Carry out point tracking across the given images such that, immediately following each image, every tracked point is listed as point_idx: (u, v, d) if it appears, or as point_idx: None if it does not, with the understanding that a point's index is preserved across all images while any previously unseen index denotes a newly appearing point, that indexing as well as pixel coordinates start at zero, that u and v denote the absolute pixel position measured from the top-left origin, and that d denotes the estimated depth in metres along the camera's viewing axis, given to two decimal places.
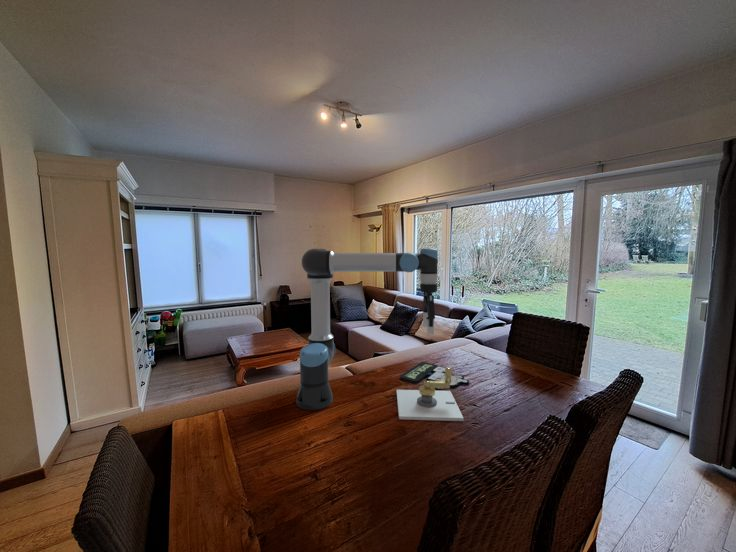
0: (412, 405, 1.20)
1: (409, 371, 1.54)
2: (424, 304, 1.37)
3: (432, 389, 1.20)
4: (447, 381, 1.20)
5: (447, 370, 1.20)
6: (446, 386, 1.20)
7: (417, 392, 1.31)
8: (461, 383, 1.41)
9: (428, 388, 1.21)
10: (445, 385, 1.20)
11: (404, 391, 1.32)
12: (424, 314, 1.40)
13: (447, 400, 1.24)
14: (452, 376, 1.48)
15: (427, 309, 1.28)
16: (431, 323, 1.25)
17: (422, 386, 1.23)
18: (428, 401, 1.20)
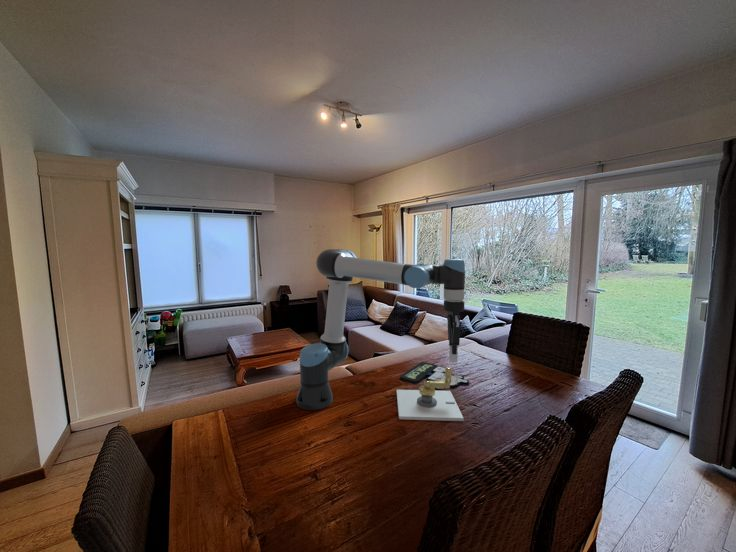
0: (412, 405, 1.20)
1: (409, 371, 1.54)
2: (450, 328, 1.13)
3: (432, 389, 1.20)
4: (447, 381, 1.20)
5: (447, 370, 1.20)
6: (446, 386, 1.20)
7: (417, 392, 1.31)
8: (461, 383, 1.41)
9: (428, 388, 1.21)
10: (445, 385, 1.20)
11: (404, 391, 1.32)
12: None
13: (447, 400, 1.24)
14: (452, 376, 1.48)
15: (451, 334, 1.11)
16: (455, 350, 1.11)
17: (422, 386, 1.23)
18: (428, 401, 1.20)
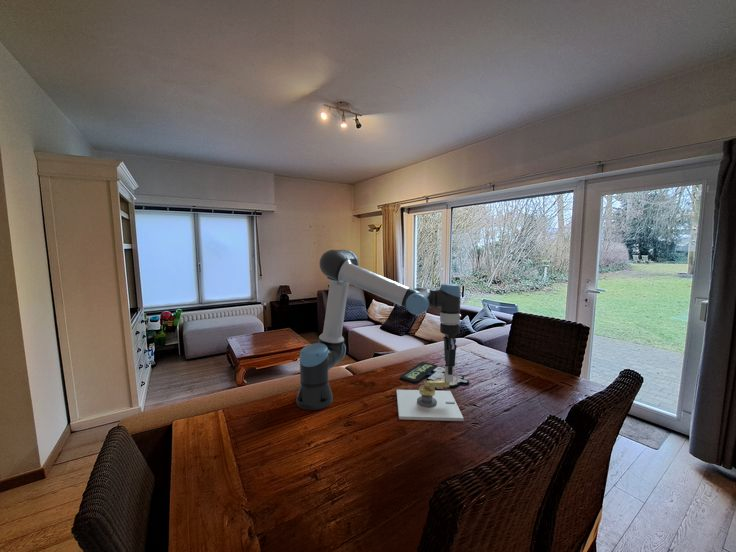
0: (412, 405, 1.20)
1: (410, 371, 1.54)
2: (446, 350, 1.18)
3: (432, 389, 1.21)
4: None
5: None
6: (446, 385, 1.21)
7: (417, 392, 1.31)
8: (461, 383, 1.41)
9: (428, 388, 1.21)
10: (445, 384, 1.21)
11: (404, 391, 1.32)
12: None
13: (447, 400, 1.24)
14: None
15: (447, 355, 1.16)
16: (450, 371, 1.16)
17: (422, 386, 1.23)
18: (428, 401, 1.20)
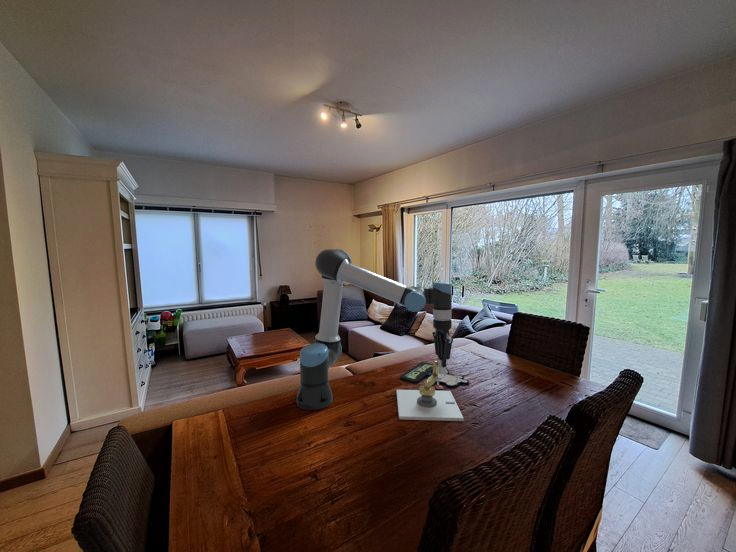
0: (412, 405, 1.20)
1: (410, 371, 1.54)
2: (438, 344, 1.25)
3: (431, 387, 1.23)
4: (437, 374, 1.27)
5: (437, 363, 1.27)
6: (436, 379, 1.27)
7: (417, 392, 1.31)
8: (461, 383, 1.41)
9: (430, 387, 1.21)
10: (436, 378, 1.27)
11: (404, 391, 1.32)
12: None
13: (447, 400, 1.24)
14: (452, 376, 1.48)
15: (441, 349, 1.23)
16: (445, 363, 1.24)
17: (422, 388, 1.21)
18: (428, 401, 1.20)
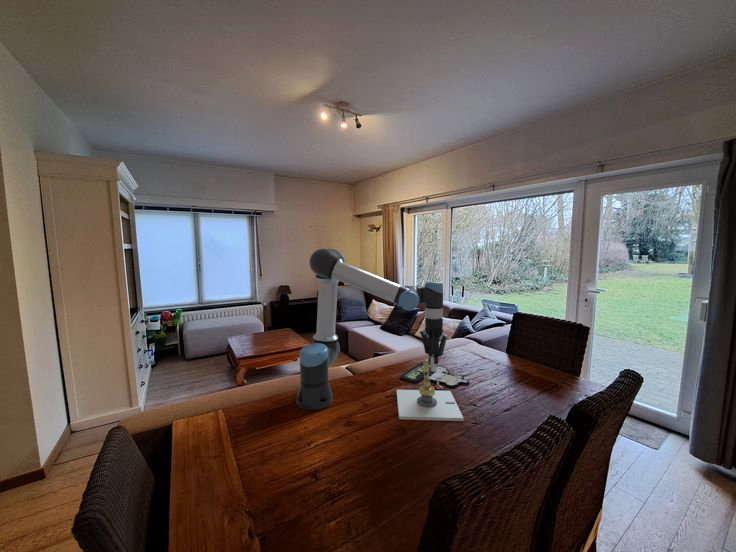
0: (412, 405, 1.20)
1: (410, 371, 1.54)
2: (430, 342, 1.28)
3: (429, 386, 1.23)
4: (428, 372, 1.29)
5: (428, 362, 1.29)
6: None
7: (417, 392, 1.31)
8: (461, 383, 1.41)
9: None
10: (428, 376, 1.29)
11: (404, 391, 1.32)
12: None
13: (447, 400, 1.24)
14: (452, 376, 1.48)
15: (435, 347, 1.26)
16: (437, 360, 1.28)
17: (423, 389, 1.20)
18: (428, 401, 1.20)
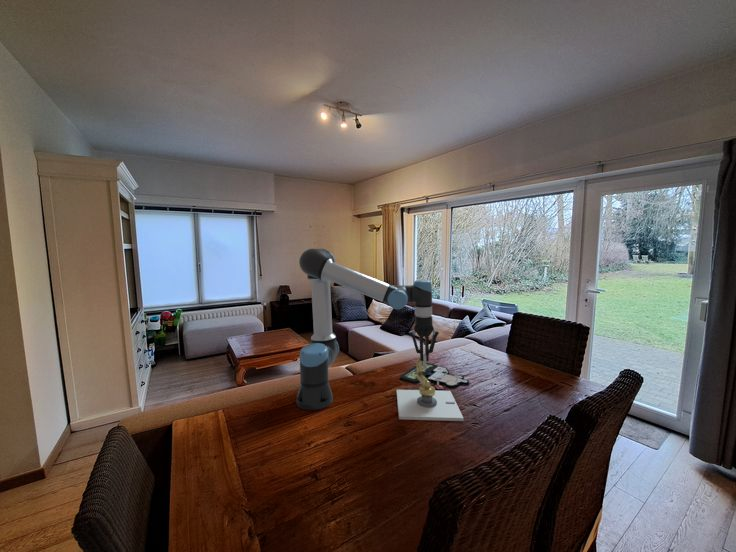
0: (412, 405, 1.20)
1: (410, 371, 1.54)
2: (422, 341, 1.29)
3: None
4: (421, 372, 1.29)
5: None
6: None
7: (417, 392, 1.31)
8: (461, 383, 1.41)
9: None
10: None
11: (404, 391, 1.32)
12: None
13: (447, 400, 1.24)
14: (452, 376, 1.48)
15: (428, 344, 1.29)
16: None
17: (425, 390, 1.20)
18: (428, 401, 1.20)
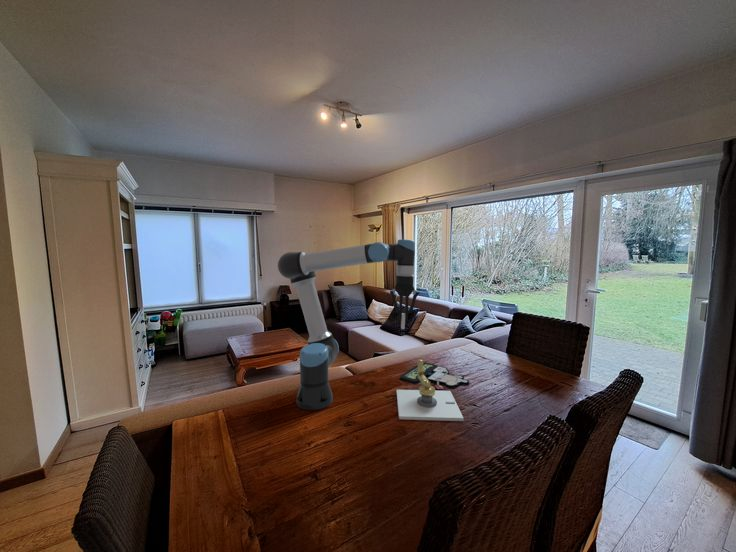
0: (412, 405, 1.20)
1: (410, 371, 1.54)
2: (402, 300, 1.29)
3: None
4: None
5: None
6: None
7: (417, 392, 1.31)
8: (461, 383, 1.41)
9: None
10: None
11: (404, 391, 1.32)
12: None
13: (447, 400, 1.24)
14: (452, 376, 1.48)
15: (407, 304, 1.29)
16: (407, 317, 1.31)
17: (425, 390, 1.20)
18: (428, 401, 1.20)
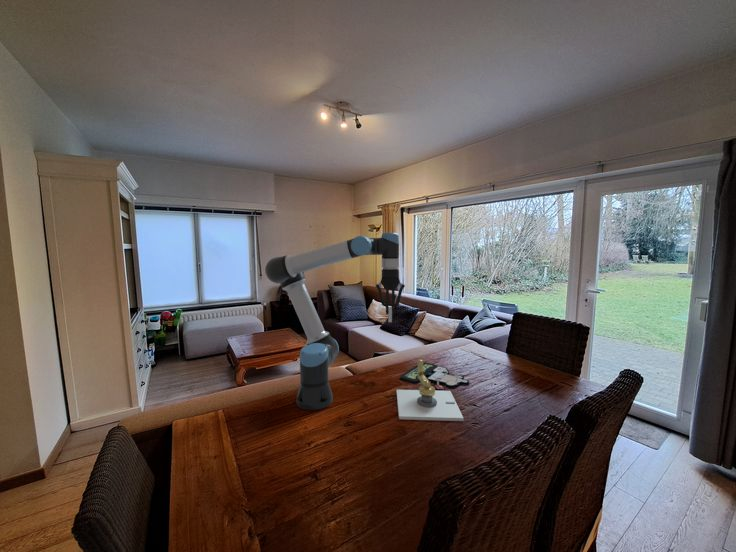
0: (412, 405, 1.20)
1: (410, 371, 1.54)
2: (388, 294, 1.29)
3: None
4: None
5: None
6: None
7: (417, 392, 1.31)
8: (461, 383, 1.41)
9: None
10: None
11: (404, 391, 1.32)
12: None
13: (447, 400, 1.24)
14: (452, 376, 1.48)
15: (393, 297, 1.29)
16: None
17: (425, 390, 1.20)
18: (428, 401, 1.20)
